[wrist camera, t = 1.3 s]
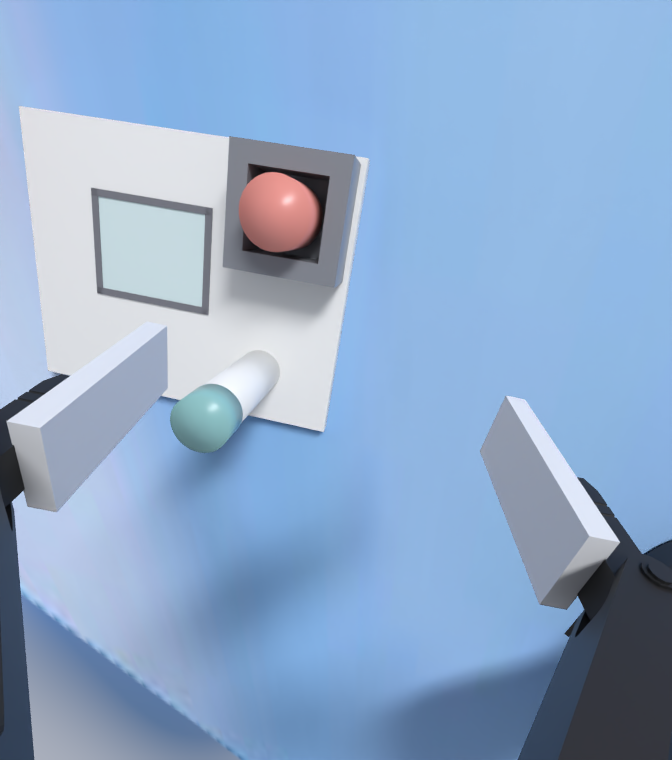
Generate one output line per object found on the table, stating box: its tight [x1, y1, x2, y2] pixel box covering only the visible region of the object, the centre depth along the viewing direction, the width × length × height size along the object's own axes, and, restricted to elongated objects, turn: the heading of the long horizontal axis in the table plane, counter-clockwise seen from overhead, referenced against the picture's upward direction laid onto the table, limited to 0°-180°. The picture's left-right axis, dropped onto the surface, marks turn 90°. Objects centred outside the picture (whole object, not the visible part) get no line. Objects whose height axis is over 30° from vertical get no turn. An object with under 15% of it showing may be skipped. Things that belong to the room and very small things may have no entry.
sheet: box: [19, 106, 370, 432], centre depth 37 cm, size 24×30×1 cm
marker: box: [170, 350, 280, 453], centre depth 33 cm, size 4×4×12 cm
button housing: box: [223, 136, 361, 288], centre depth 31 cm, size 9×9×4 cm
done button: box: [239, 172, 323, 252], centre depth 29 cm, size 5×5×4 cm
